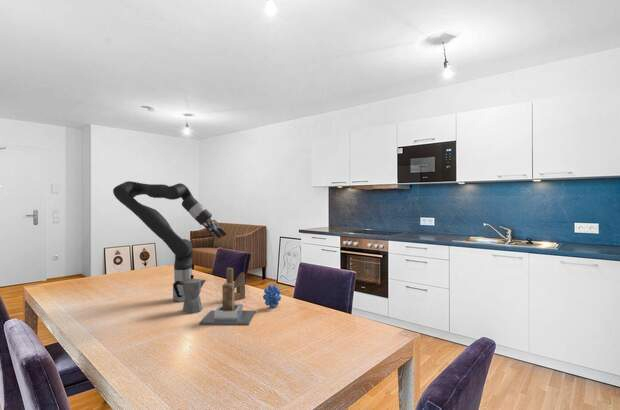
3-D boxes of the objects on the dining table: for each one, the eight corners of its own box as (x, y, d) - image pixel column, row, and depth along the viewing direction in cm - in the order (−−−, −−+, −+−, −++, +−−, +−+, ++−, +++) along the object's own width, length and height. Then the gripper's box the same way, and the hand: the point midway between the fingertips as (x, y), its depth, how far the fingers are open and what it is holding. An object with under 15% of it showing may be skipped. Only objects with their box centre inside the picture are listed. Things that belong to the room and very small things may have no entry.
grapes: (269, 312, 167) (269, 288, 167) (260, 309, 172) (260, 285, 171) (286, 306, 176) (286, 283, 175) (277, 303, 180) (277, 281, 180)
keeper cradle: (199, 324, 151) (199, 313, 151) (210, 312, 167) (210, 302, 167) (248, 324, 151) (248, 313, 151) (255, 312, 167) (255, 302, 167)
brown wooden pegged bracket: (245, 298, 191) (245, 266, 190) (229, 302, 183) (228, 269, 183) (241, 296, 193) (241, 265, 193) (225, 301, 185) (224, 268, 185)
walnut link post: (222, 317, 157) (222, 285, 157) (225, 314, 161) (224, 283, 161) (232, 317, 157) (232, 285, 156) (234, 314, 161) (234, 283, 161)
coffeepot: (205, 306, 177) (205, 271, 176) (206, 312, 168) (206, 275, 167) (173, 309, 171) (173, 274, 171) (173, 316, 163) (172, 278, 162)
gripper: (200, 218, 181) (221, 239, 181) (190, 220, 166) (213, 243, 167) (209, 208, 180) (231, 229, 181) (200, 209, 166) (224, 232, 166)
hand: (223, 236), depth 174 cm, fingers open, 8 cm apart
